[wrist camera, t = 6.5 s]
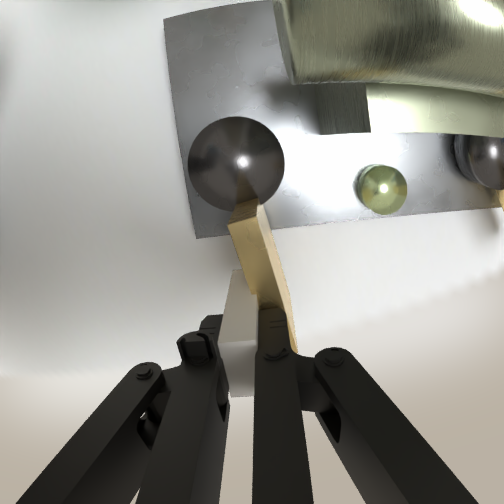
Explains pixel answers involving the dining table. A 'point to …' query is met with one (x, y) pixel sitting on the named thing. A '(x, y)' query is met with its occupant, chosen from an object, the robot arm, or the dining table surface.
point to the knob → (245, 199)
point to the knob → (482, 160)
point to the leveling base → (345, 100)
